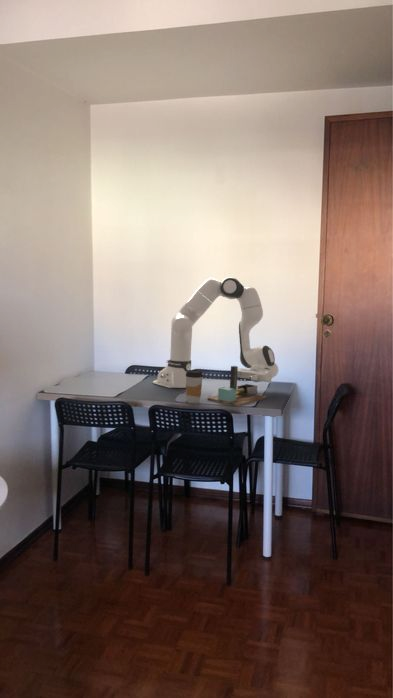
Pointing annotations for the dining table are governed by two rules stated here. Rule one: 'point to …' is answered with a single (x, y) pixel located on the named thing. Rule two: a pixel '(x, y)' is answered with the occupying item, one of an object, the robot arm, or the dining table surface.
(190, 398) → the coffee cup
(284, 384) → the dining table surface
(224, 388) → the mint green block
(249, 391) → the sleeve
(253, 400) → the board
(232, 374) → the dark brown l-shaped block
